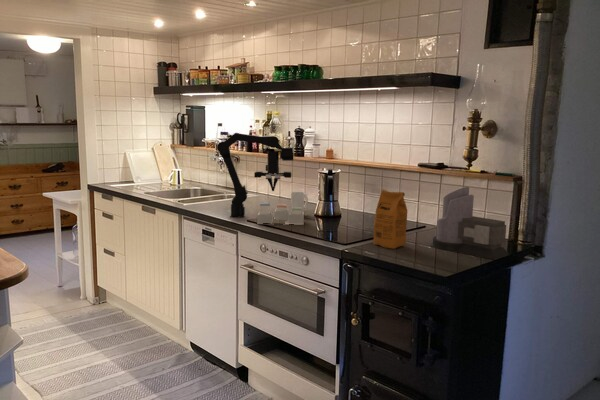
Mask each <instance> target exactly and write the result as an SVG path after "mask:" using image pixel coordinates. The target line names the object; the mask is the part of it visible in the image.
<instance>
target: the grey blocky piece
mask: <svg viewBox="0 0 600 400" xmlns="http://www.w3.org/2000/svg"><path fill="white" fill-rule="evenodd" d="M474 199H475V198H474V195H473V194H470V187H469V186H465V187H461V188H458V189H456V190H454V191H451V192H449V193H447V194H446V195H444V196H443V200H442V201H443V202H442V215H441V217H442V218H438V219H437V220H436V236H434V237H432V242H430V243H429V244H428V246H429V247H432V248H435V249H438V250H440V251H441V250H442V251H447V252H456V253H463V254H465V255H469V256H470V255H471V256H475V257H481V258H485V259H490V260H494V261H495V260H499V259H500V258H501V259H502V258H505V257H507V256H510V255H511V254H510V252H508V251H507V250H506V249H505V248H504V246H503V244H504V243H506V235H507V225H506V221H504V220H498V219H493V218H486V217H479V216H474V215H473V214H474V213H473V212H474V211H473V210H474Z"/></svg>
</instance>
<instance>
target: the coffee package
mask: <svg viewBox="0 0 600 400" xmlns="http://www.w3.org/2000/svg"><path fill="white" fill-rule="evenodd" d="M404 197H405V192H403V191H402V192H401V191H389V190H386V189H381V192H380V195H379V198H378V202H377V206H376V209H375V214H374V215H375V216H374V223H373V245H374V246H380V247H382V248H385V249H397V248H399V247H403V246H405V245H406V244H407V243H406V241H407V224H408V209H407V208H408V207H407V205H406V202H405V198H404Z"/></svg>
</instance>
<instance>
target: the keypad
mask: <svg viewBox="0 0 600 400" xmlns="http://www.w3.org/2000/svg"><path fill="white" fill-rule="evenodd" d="M273 217H274V219H276V220H287V221H285V224H284V225H289V224H294V225H293V226H296V225H298V226H299V225H301V226H304V223H305V221H304V220H305V211H304V212H301V214H292V212H291V211H290V209H288V208H287V211H277V208H275V209H274V212H271V211H270V215H266V214H260V211H258V212H257V217H256V218H257V220H256V221H257V225H264V224H263V223H271V224H270V225H273V224H272V222H273Z"/></svg>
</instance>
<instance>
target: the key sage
mask: <svg viewBox="0 0 600 400" xmlns="http://www.w3.org/2000/svg"><path fill="white" fill-rule="evenodd" d="M292 214H301V207H292Z"/></svg>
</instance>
